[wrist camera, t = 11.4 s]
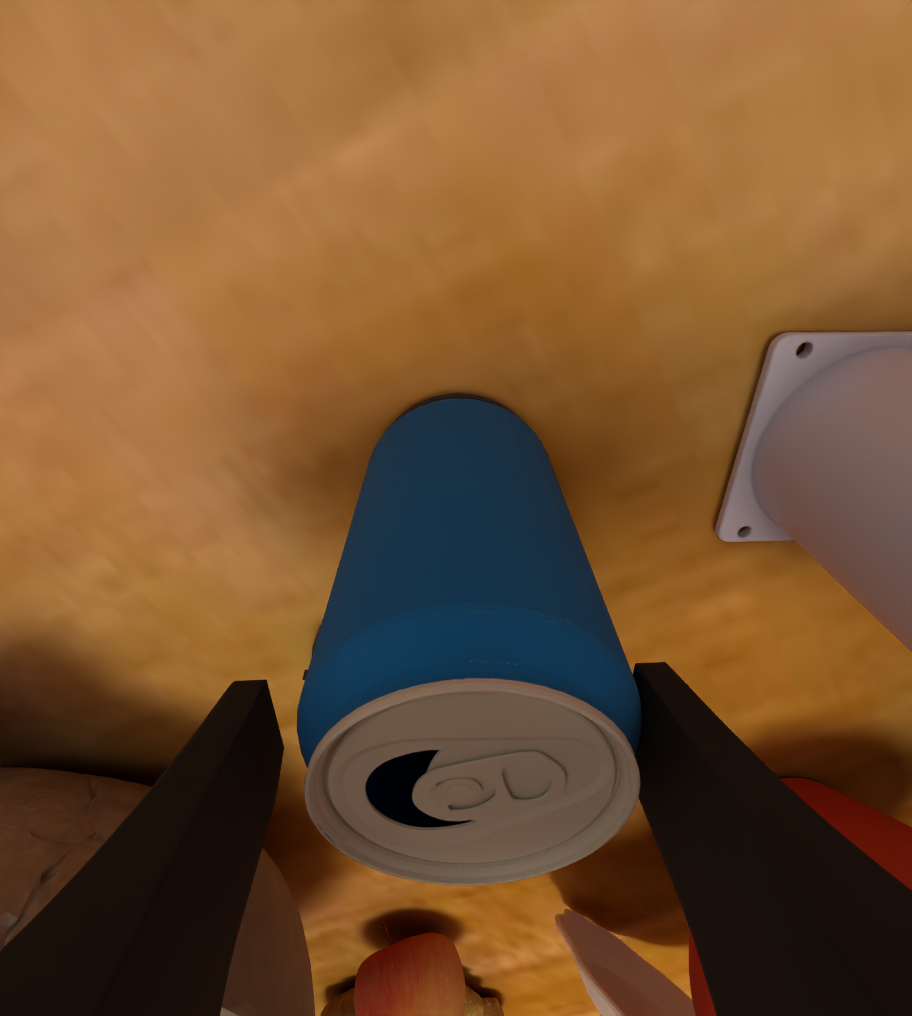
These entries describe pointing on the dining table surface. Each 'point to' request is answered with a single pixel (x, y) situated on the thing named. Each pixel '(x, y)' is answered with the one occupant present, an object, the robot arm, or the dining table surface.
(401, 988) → the apple
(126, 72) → the dining table surface
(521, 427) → the beverage can
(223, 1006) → the bowl
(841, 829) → the decorative vase
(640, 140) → the dining table surface
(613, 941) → the plate
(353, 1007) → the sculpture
